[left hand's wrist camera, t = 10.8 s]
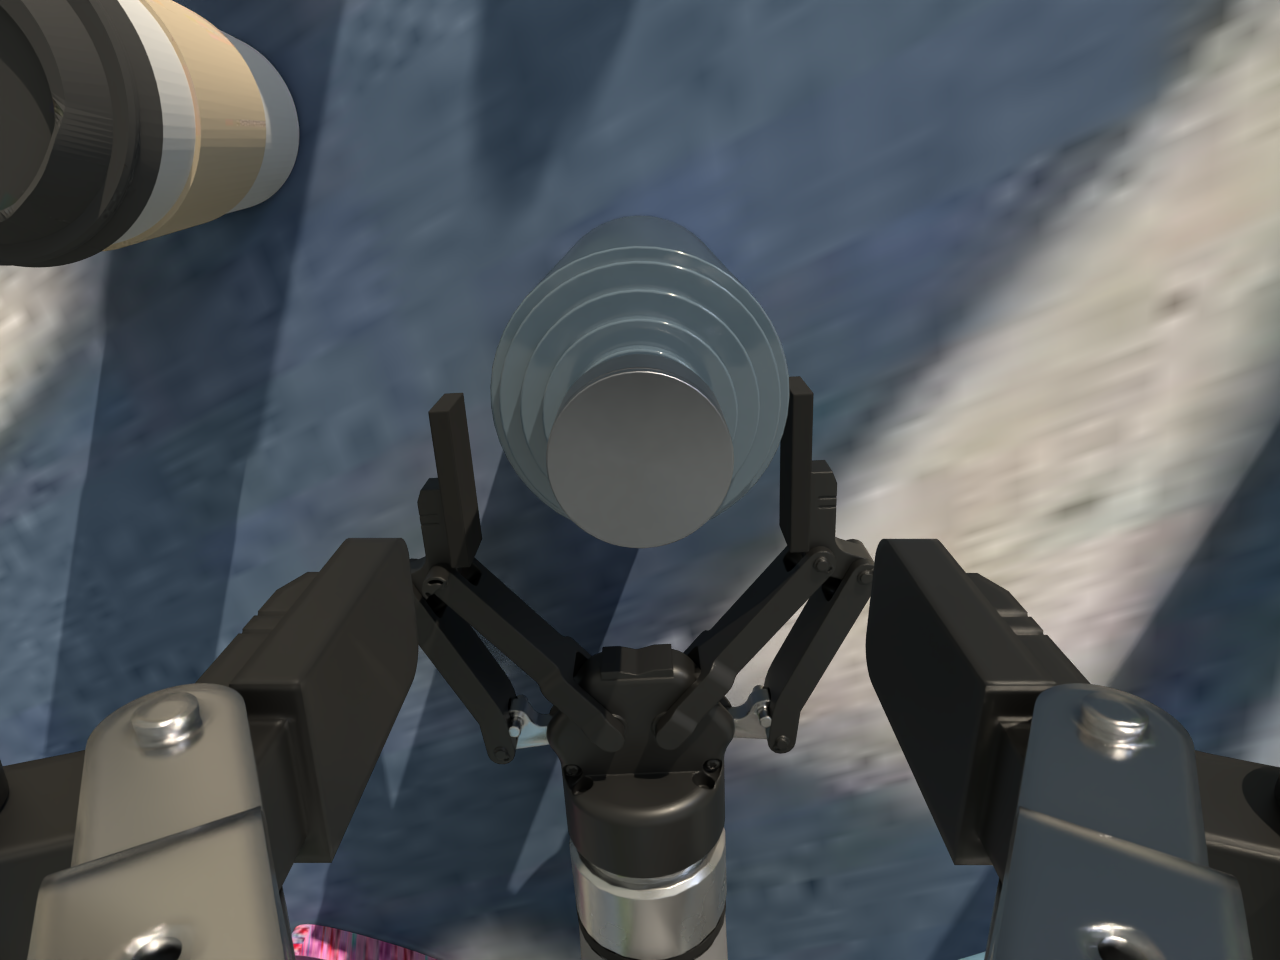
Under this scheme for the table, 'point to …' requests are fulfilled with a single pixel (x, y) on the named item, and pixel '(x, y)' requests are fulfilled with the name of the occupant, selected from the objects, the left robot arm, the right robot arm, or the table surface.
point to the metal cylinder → (639, 452)
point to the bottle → (640, 342)
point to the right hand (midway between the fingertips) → (620, 392)
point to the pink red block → (345, 946)
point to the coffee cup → (129, 126)
